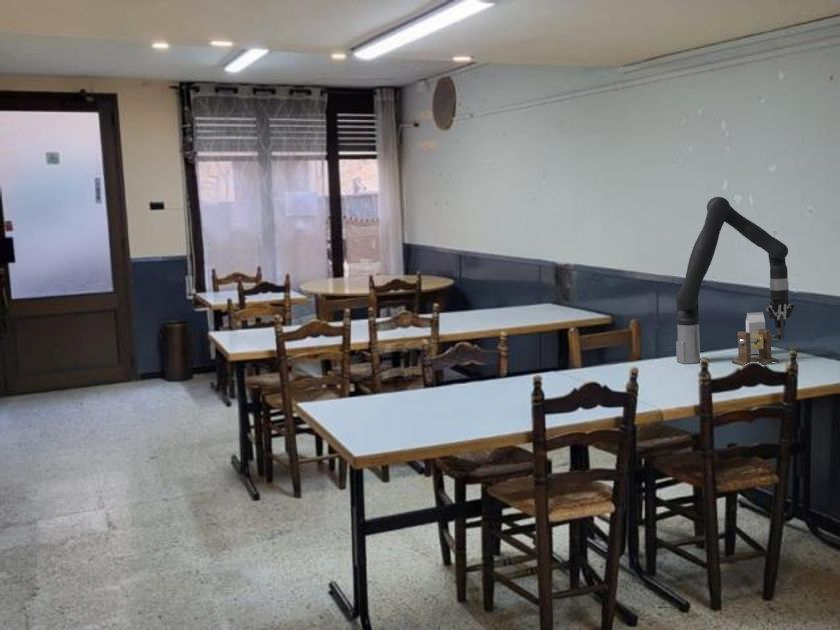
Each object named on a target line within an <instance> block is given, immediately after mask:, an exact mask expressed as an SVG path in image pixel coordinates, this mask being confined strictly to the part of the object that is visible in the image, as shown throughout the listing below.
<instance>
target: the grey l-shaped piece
mask: <svg viewBox="0 0 840 630" xmlns="http://www.w3.org/2000/svg"><path fill="white" fill-rule="evenodd" d="M775 330H776V331H775V332H776V334H775V335H774V334H773V335H771V341H776V340H777V341H778V340H779V341H782V340H783V341H785V328H784V317H782V316H780V328H779V329H778V328H776V327H775ZM763 341H764V337H763ZM755 342H758V338H750V343H755ZM739 344H744V339H741V340H739Z"/></svg>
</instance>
